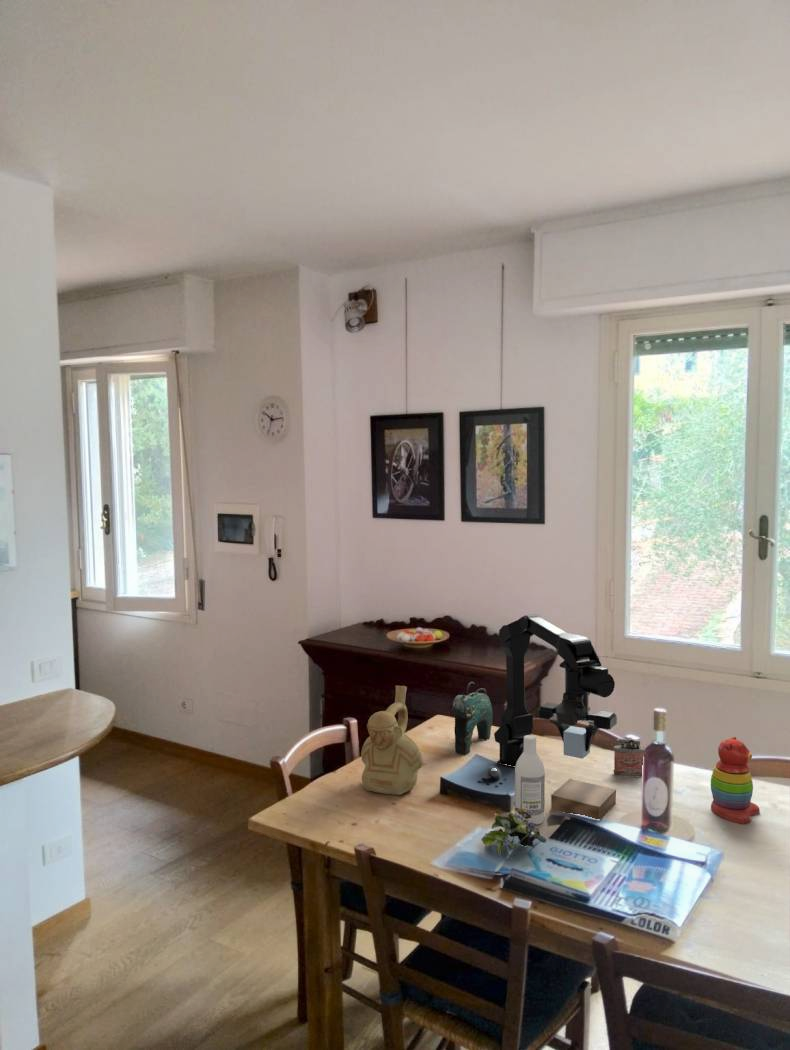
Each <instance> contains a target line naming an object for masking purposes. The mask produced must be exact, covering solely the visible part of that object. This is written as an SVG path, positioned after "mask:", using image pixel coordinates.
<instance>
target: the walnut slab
mask: <svg viewBox="0 0 790 1050" xmlns="http://www.w3.org/2000/svg"><path fill="white" fill-rule="evenodd" d="M616 801H617V789H615V788H610V787H607V786H603V785H600V784H594V783H590V782H585V781H581V780H577V779H572V778H569V779H568V780H566V782H564V783H563V784H561V786H560V787H559V788H558V789H556V790H555V791H554V792H553V793H552V794H551V795H550V810H552V811H555V812H559V813H563V812H565V813H564V814H567V813H573V814H580V815H585V816H588V817H592V818H595V819H601V820H602V819H603V818H604V817H605V816H606V815H608V813H609V811H611V810H612V808H613V807H614V806H615V805H616V804H617V802H616Z"/></svg>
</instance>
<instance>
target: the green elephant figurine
mask: <svg viewBox="0 0 790 1050" xmlns="http://www.w3.org/2000/svg"><path fill="white" fill-rule="evenodd" d="M471 684H472V686H475V682H474V681H470V682H468V684H467V687H466V694H467V695H465V694H457V695H456V696H455V698H454V699H453V701H452V710H451V711H452V714H453V715H454V749H455V750H454V751H455V752H454V753H456V754H459V755H463V756H466V755H468V754H470V751H471V747H472V745H471V744H472V737H473V734H474V729H475V727H476V730H477V739H479V740H482V739H484V741H487V739H488V740H489V739H490V738H491V734H492V732H491V731H492V725H493V707H492V703H491V699H490V697H489V696H488V695H487V689H486V688H482V687H481V688H478V689H477V690H476V691H474V692H472V693H469V688H470V685H471ZM479 691H483V692H484V693H482V692H479Z"/></svg>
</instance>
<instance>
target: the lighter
mask: <svg viewBox="0 0 790 1050" xmlns="http://www.w3.org/2000/svg"><path fill="white" fill-rule="evenodd" d="M616 744H617V745H614V746H613V751H614V753H613V754H614V755H613V756H614V758H613V760H614V761H613V763H614V764H613V773H614V774H613V775H614V776H616V777H623V776H627V777H626V778H641V776H642V765H643V753H644V754H645V751H644V750H645V749H646V748H645V747H644V746H640V745H641V740H640V739H636V738H635V739H633V738H632V737H628V738H620V737H618V738H617V739H616ZM637 776H638V777H637Z"/></svg>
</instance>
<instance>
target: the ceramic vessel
mask: <svg viewBox="0 0 790 1050" xmlns="http://www.w3.org/2000/svg"><path fill="white" fill-rule="evenodd" d="M407 689H408V687H407V686H405V685H395V697H394V703H392V704H390V705H389V706H388V707H387V708H386V709H385V710H381V711H377V712H374V713H373V714H372V715H370V717H369V719H368V721H367V724H366V728H367V731H368V734H369V736H368V737H367V738H366V740H365V741H364V743H363V745H362V748H361V752H360V755H361V756H360V757H361V761H362V763H363V764H364V769H363V770H362V774H361V775H362V776H361V782H362V783H361V784H362V785H363V787H364V788H365V789H366V790H367V791H369V792H370V791H371V792H374V793H379V794H387V795H396V796H401V795H402V794H404V793H407V792H408V791H410V790H412V789H413V788H414V787H415V786H416V783H417V781H418V775H419V772H418V771H419V770H420V769H421V768H422V767H423V766H424V761H423V757H422V756H423V755H422V753H421V751H420V748H419V747H418V745H417V743H416V742H415V741H414V740H413V739H412V738H411V737H410V736H409V735H407V734H406V733H405V732H406V730H407V726H408V718H409V717H408V715H409V714H408V708H407V706H406V697H407V696H406V693H407ZM396 714H398V717H397V718H396V717H395V716H396Z"/></svg>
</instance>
